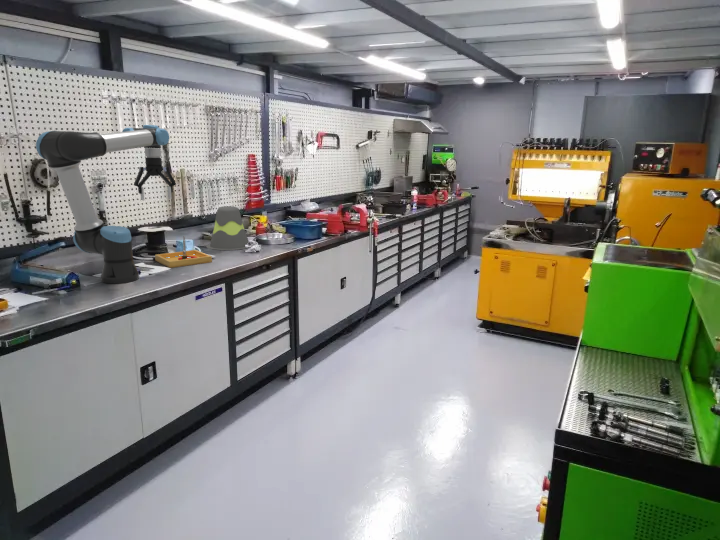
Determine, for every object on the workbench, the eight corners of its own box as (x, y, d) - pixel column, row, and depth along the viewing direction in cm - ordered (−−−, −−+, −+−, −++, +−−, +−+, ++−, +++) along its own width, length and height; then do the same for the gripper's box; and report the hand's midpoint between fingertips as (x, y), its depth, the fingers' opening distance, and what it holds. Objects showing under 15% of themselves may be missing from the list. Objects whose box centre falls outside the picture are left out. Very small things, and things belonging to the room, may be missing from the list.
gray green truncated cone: (196, 248, 283) (194, 207, 278) (222, 240, 309) (221, 203, 304) (237, 252, 276) (236, 210, 270) (261, 243, 302) (260, 205, 296)
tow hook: (185, 257, 256) (176, 260, 247) (185, 233, 254) (175, 235, 245) (200, 258, 255) (191, 261, 246) (199, 234, 252) (190, 236, 243)
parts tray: (169, 268, 235) (169, 261, 234) (155, 260, 249) (154, 254, 248) (212, 262, 249) (211, 256, 248) (196, 255, 264) (195, 249, 263)
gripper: (175, 157, 249) (177, 197, 254) (124, 156, 233) (128, 200, 238) (180, 157, 244) (183, 199, 249) (129, 156, 228) (133, 201, 233)
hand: (156, 199), depth 244 cm, fingers open, 13 cm apart
